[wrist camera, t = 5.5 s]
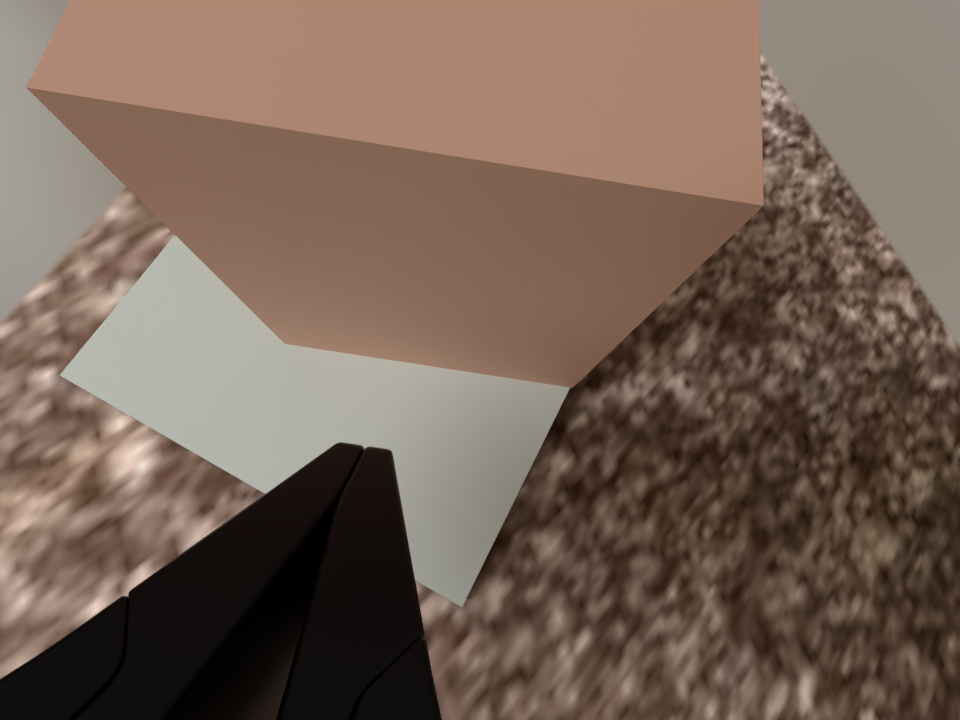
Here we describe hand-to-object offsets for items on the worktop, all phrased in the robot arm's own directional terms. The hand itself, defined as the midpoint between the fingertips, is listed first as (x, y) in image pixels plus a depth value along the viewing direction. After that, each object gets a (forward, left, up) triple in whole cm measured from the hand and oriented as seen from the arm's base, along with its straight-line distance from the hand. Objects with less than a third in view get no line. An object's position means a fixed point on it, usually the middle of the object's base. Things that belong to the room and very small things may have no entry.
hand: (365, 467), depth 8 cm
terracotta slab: (+2, -6, -9) cm, 11 cm away
